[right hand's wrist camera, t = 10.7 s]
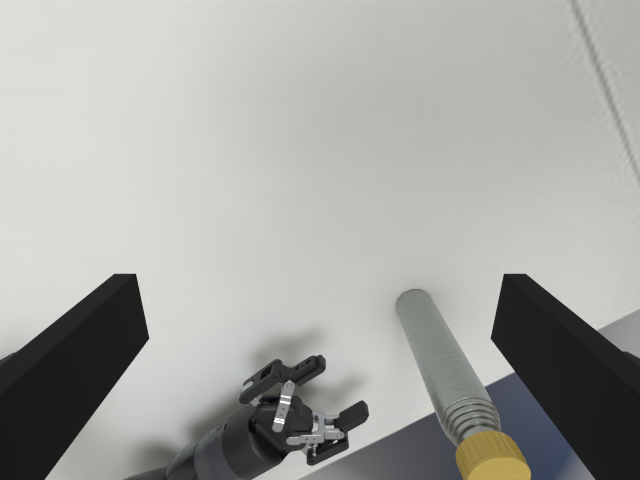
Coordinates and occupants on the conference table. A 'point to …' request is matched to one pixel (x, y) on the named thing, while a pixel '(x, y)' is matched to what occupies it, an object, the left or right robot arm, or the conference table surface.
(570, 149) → the conference table surface
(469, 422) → the bottle
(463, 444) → the cap
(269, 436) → the left robot arm
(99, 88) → the conference table surface
